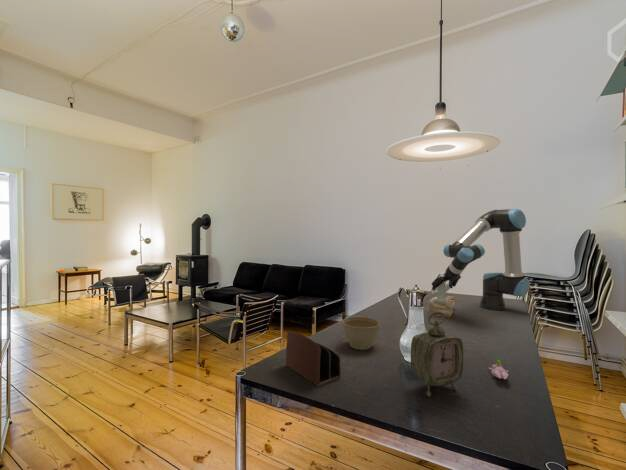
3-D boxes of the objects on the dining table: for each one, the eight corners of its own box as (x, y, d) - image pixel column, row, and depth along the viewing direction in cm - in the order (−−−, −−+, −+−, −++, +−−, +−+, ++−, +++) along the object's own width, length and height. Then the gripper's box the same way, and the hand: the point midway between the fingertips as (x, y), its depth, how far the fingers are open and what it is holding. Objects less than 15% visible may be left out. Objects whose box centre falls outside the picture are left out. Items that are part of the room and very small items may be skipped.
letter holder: (318, 387, 104) (318, 344, 104) (285, 366, 120) (285, 328, 119) (340, 378, 110) (341, 338, 110) (306, 359, 126) (307, 324, 125)
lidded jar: (438, 310, 203) (438, 295, 203) (435, 306, 213) (435, 292, 213) (456, 311, 201) (456, 296, 201) (452, 307, 212) (452, 293, 211)
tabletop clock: (427, 400, 96) (428, 317, 95) (407, 387, 104) (408, 310, 103) (462, 391, 101) (464, 313, 101) (441, 378, 110) (442, 306, 109)
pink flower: (487, 371, 119) (491, 382, 106) (487, 354, 120) (491, 363, 106) (506, 374, 117) (513, 386, 103) (506, 357, 117) (513, 366, 104)
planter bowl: (334, 346, 140) (335, 321, 139) (356, 337, 151) (356, 314, 151) (365, 356, 129) (366, 329, 128) (386, 346, 140) (386, 321, 140)
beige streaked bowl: (432, 310, 203) (432, 297, 203) (452, 312, 198) (452, 299, 197) (429, 314, 193) (429, 301, 193) (450, 317, 187) (450, 303, 187)
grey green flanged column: (435, 303, 201) (435, 280, 200) (448, 304, 197) (449, 282, 196) (433, 305, 194) (433, 282, 193) (447, 307, 190) (447, 283, 189)
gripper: (467, 264, 187) (450, 286, 203) (436, 264, 183) (420, 287, 199) (473, 274, 182) (455, 296, 198) (441, 275, 178) (425, 297, 194)
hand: (437, 292), depth 198 cm, fingers open, 8 cm apart
